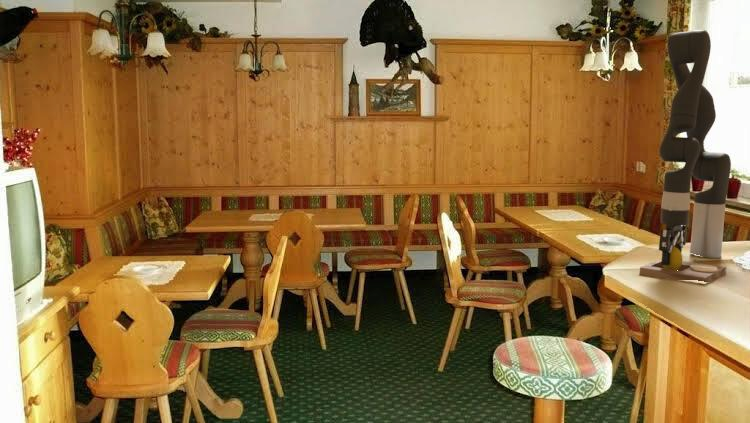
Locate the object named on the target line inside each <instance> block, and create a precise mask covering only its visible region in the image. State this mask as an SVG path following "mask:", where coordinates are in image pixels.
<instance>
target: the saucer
mask: <svg viewBox="0 0 750 423" xmlns="http://www.w3.org/2000/svg"><path fill="white" fill-rule="evenodd" d="M704 264H705V263H701V264H693V265H690V269H691V270H694V271H699V272H717V267H715V266H716V265H715V266H711V265H712V264H708V265H704Z"/></svg>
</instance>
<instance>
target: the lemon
mask: <svg viewBox="0 0 750 423" xmlns="http://www.w3.org/2000/svg"><path fill="white" fill-rule="evenodd" d="M682 261H683V254H682V252H680V250H679V249H678V248H676V247H675V246H673V247H672V250H671V259H670V265H669V266H666V265H663V267H664V268H665V269H671V270H678V269H679V268H680V267H681V265H682Z"/></svg>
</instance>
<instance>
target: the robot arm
mask: <svg viewBox="0 0 750 423" xmlns="http://www.w3.org/2000/svg"><path fill="white" fill-rule="evenodd" d="M666 46H667V48H666V50H667V54H668V58H669V59H668V60H669V62H670V63H669V64H670V66H671V69H672V73H673V75H674V79H675V83H676V86H677V91H676V93H675V95H674V96H673V99H672V102H671V106H670V115H669V121H668V126H667V130H666V132H665V135H664V136H663V139H662V140H661V144H660V146H659V151H658V152H659V157H660V158H661V160H662V161H664V162H669V163H670V162H671V163H684V166H683V167H682V168H680V169H672V170H668V171H666V172H665V174H664V179H663V180H664V181H663V191H662V192H663V193H662V197H661V208H660V220H659V221H660V223H661V224H662V225H663V224H664V225H665V229H661V230H660V232H659V233H660V236H659V244H658V251H660V252H662V254H661V259H662V263H661V264H662V265H666V266H669V265H670V259H671V250H672V247H673V246H675V247H676V248H678V249H679V250H680V252H681V253H682V251H683V250H682V249H683V248H684V246H686V242H687V241H686V240H687V228H688V227H687V225H688V224H689V221H690V220H689V219H690V209H691V207H690V206H691V182H692V177H693V178H694V179H695V180H698V181H701V182H703V181H704V182H710V183H711V182H712V184H711V187H710V188H708V189H706V190H703V191H698V192H696V193H695V194H694V197H693V198H694V199H693V213H692V223H691V224H692V225H691V237H690V250H689V254H690V253H693V254H696V255H700V256H703V257H702V258H704V257H707V258H706V259H718V258H721V257H722V252H723V251H722V248H723V240H724V239H723V238H724V237H723V236H724V229H725V228H724V226H725V225H724V224H725V216H726V215H725V214H726V201H727V196H728V190H729V183H730V182H729V181H730V175H731V168H732V161H731V157H730V156H729V154H727V153H725V152H714V151H713V152H711V151H710V152H709V151H706V150H705V145H704V144H705V143H704V142H705V140H706V137H707V136H708V134H709V132H710V130H711V129H712V127H713V126H714V124H715V121H716V118H717V114H716V107H715V102H714V101H715V100H714V97H713V95H712V93H711V92H710V91H709V89H707V88H706V87H705V86H704V85H703V84H704V83H703V82H704V80H705V76H706V72H707V68H708V63H709V60H710V54H711V49H712V48H711V46H712V45H711V37H710V34H709V32H708V31H707V30H705V29H695V30H689V31H679V32H674V33H671V34H670V35H669V36H668V39H667V45H666ZM688 64H693V66H692V68H691V71H690V69H689V66H688ZM683 133H686V137H683V136H682V137H680V136H679V137H678V135H680V134H683Z"/></svg>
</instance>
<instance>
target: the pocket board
mask: <svg viewBox="0 0 750 423" xmlns="http://www.w3.org/2000/svg"><path fill="white" fill-rule="evenodd" d="M661 263H662V258H659V259H657V260H654V261H652V262H650V263H648V264H645V265H643V266H640V268H639V275H644V276H649V277H655V278H660V279H661V278H662V279H666V280H672V281H678V280H698V281H704V282H710V283H711V282H713V281H715V280H717V279H719V278H721V277H722V276H724V275H726V273H727V266H720V265H714V264H713V265H712V264H710V265H711V266H715V267H717V272H699V271H694V270H691V269H690V265H693V264H702V263H700V262H694V261H693V262H692V261H687V260H682V265H681V267H680V268H679V269H678V271H677V270H671V269H665V268H664V267H663V265H662V264H661ZM703 264H704V265H709V264H708V263H703Z"/></svg>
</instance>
